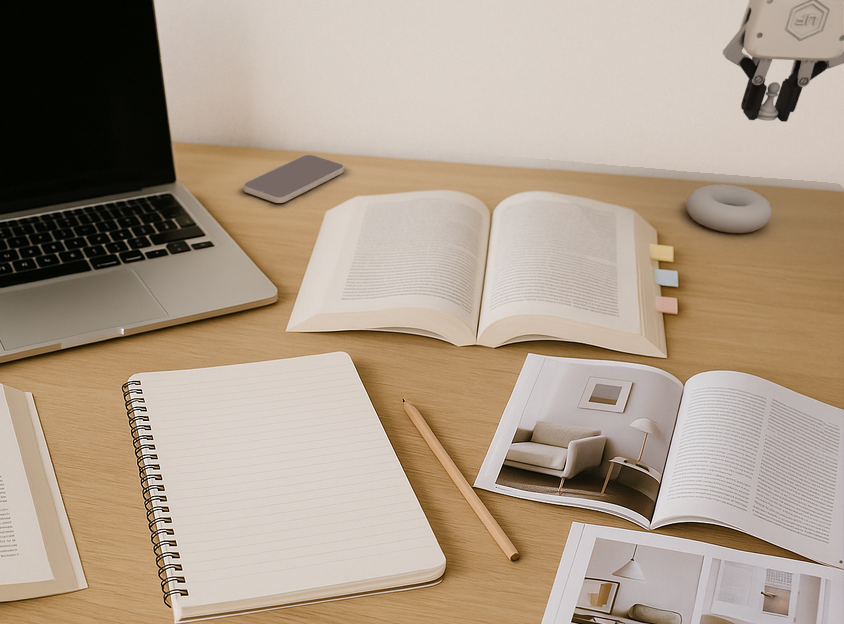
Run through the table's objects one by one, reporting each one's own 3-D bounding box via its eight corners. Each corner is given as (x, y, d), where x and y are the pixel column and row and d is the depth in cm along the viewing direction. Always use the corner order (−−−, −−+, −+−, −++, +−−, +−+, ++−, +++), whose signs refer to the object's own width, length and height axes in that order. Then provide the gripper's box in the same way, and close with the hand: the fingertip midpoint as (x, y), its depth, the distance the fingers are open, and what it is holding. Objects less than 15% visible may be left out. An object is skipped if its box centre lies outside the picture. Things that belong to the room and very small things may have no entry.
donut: (678, 201, 114) (688, 233, 106) (685, 177, 112) (696, 207, 104) (758, 208, 112) (774, 241, 104) (766, 184, 110) (784, 215, 102)
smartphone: (347, 165, 122) (280, 199, 112) (347, 171, 122) (280, 205, 113) (307, 153, 125) (239, 184, 116) (307, 159, 126) (239, 191, 116)
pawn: (752, 119, 97) (763, 84, 94) (751, 112, 99) (762, 77, 96) (777, 122, 96) (788, 87, 94) (776, 114, 98) (787, 80, 96)
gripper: (748, -53, 85) (698, 125, 96) (922, -50, 82) (851, 132, 93) (729, -66, 91) (684, 103, 101) (891, -63, 88) (828, 109, 99)
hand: (764, 115), depth 97 cm, fingers closed on pawn, 2 cm apart
